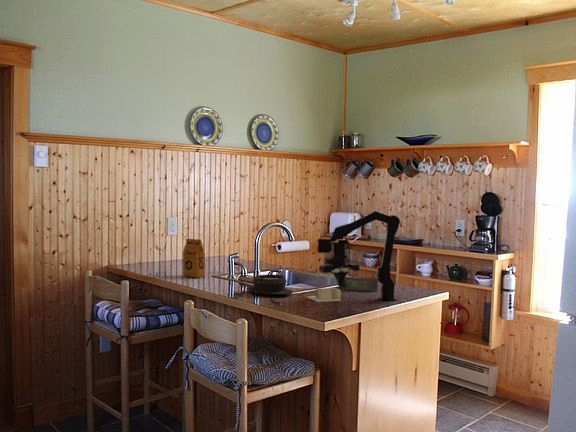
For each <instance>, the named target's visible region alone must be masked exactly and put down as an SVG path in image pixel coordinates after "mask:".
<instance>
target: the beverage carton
mask: <svg viewBox="0 0 576 432" xmlns="http://www.w3.org/2000/svg"><path fill="white" fill-rule="evenodd" d="M378 288H379V281H378V278H377V277H373V276H371V277H370V276H368V277H367V276H366V277H361V276H360V277H356V276H345V278H344V280H343V282H342V285H341V286H339V290H341V291H357V292H358V291H359V292H377V291H378Z"/></svg>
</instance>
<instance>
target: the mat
mask: <svg viewBox="0 0 576 432" xmlns="http://www.w3.org/2000/svg"><path fill="white" fill-rule="evenodd" d="M306 298H307V299H310V300H312V301H314V302H316V303H326V302H327V303H329V302H342V299H326V300H320V299H318V298H316V295H312V296H307V297H306Z"/></svg>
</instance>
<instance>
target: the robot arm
mask: <svg viewBox="0 0 576 432" xmlns="http://www.w3.org/2000/svg"><path fill="white" fill-rule="evenodd" d="M400 220H401V219H400V217H398V216H397V215H396V214H391V215H388V214H385V213H381V212H379V211H377V210H374V211H372V212H371V213H368V214H366V215H365V216H362V217H360V218H358V219H356V220H354V221H352V222H349V223H345V224H342V225H338V226H336V227H335V228H334V229H333V234H332V235H331V236H330V237H329V238H318V240H317V241H318V242H317V244H318V245H317V254H330V252H332V251H333V254H332V255H331V258H330V257H328V256H327V257H325V258H324V264H323V265H322V264H320V266H319V267H318V272H322V273H325V274H327V273H331V274H332V275H333V277H334V278H335V280H336V283H337V286H338V287H340V286H341V285H342V282H343V280H344V278H345V277H347V275H348V274H350V271H348V270H352V271H354V272H357V271H358V272H359V271H360V270H361V269H360V265H359V264H357V263H346V259H348V256H347V255H346V253H347V251H346V246H347V245H350V241H349V240H348V239H347V238H346V237H347V236H349V235H350V234H352V233H353V232H354V231H355V230H357V229H359V228H362V227H364V226H366V225H368V224H370V223H372V222H374V221H379V222H381V223H384V224H385V227H386V229H385V230H386V235H385V236H386V237H385V242H384V248H383V254H382V260H381V263H380V266H378V265H377V267H376V272H375V276H376V278H378V283H379V284H380V285H381V286H380V287H381V288H380V297H378V299H379V300H381V301H384V302H388V301H389V302H390V301H397V300H398V299H397V298H396V297H395V285H396V283H395V281H394V280H393V279H392V278H391V262H392V255H393V251H394V250H393V248H394V243H395V238H396V237H395V236H396V234H397V232H398V230H399V226H400V224H401V221H400Z"/></svg>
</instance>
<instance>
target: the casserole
mask: <svg viewBox="0 0 576 432" xmlns="http://www.w3.org/2000/svg"><path fill="white" fill-rule="evenodd" d="M252 283H253V286H248V287H246V288H245V289H246V290H247V291H251V292H252V293H255V294H257V295H259V296H269V297H272V296H273V297H274V296H279V295H280V296H281V295H289V294H292V293H294V290H293V289H290V288H287V287H286V284H287V283H288V282H287V279H286V277H285V276H284V275H281V274H280V275H279V274H259V275H254V278H253V279H252Z"/></svg>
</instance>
